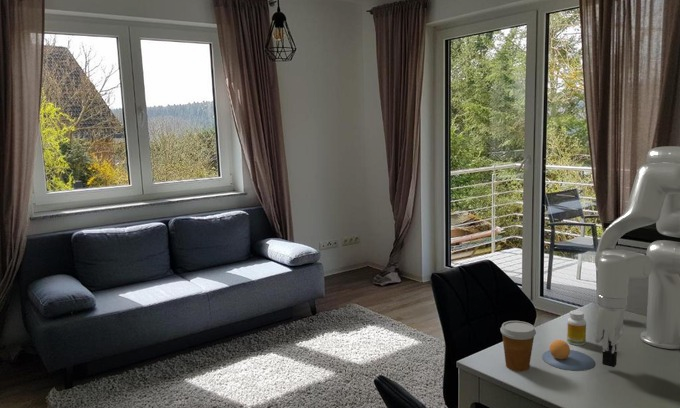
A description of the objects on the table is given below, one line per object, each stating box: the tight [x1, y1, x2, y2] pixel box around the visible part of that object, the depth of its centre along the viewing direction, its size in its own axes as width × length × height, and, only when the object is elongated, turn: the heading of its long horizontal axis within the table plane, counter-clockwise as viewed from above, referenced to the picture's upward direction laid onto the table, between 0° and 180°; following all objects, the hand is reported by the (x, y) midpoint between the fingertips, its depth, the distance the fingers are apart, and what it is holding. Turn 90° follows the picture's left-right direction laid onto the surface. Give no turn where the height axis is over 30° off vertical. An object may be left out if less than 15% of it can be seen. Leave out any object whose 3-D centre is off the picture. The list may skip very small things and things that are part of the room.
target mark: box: [541, 349, 596, 372], centre depth 154 cm, size 14×14×1 cm
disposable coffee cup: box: [499, 320, 537, 372], centre depth 150 cm, size 10×10×12 cm
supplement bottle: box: [566, 310, 587, 346], centre depth 165 cm, size 5×5×10 cm
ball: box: [549, 339, 571, 360], centre depth 154 cm, size 6×6×6 cm
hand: (609, 364), depth 147 cm, fingers closed
